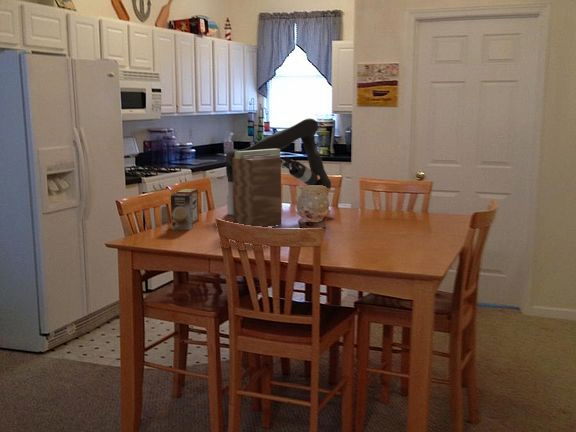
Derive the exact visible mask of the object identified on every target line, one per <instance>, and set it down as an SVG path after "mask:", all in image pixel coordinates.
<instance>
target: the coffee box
mask: <svg viewBox="0 0 576 432" xmlns="http://www.w3.org/2000/svg"><path fill="white" fill-rule="evenodd" d="M170 219H171V220H170V221H171V230H174V231H179V230H180V231H191V230H192V229H193V228H194V223H193V198H192V194H179V193H177V192H176V193H175V192H174V193H172V194H171V195H170Z"/></svg>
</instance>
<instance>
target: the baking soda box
mask: <svg viewBox="0 0 576 432" xmlns="http://www.w3.org/2000/svg"><path fill="white" fill-rule="evenodd" d="M176 193H179V194H192V198H193V224H195V223H197V222H199V221H200V218H199V189H198V188H197V189H195V188H183V189H181V190H178V191H176Z"/></svg>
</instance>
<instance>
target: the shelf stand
mask: <svg viewBox="0 0 576 432" xmlns="http://www.w3.org/2000/svg"><path fill="white" fill-rule="evenodd" d="M281 159H282V158H281V154H280V155H270V154H258V155H246V156H243V159H238V158H232V166H233V210H234V215H233V224H234V223H239V224H244V225H251V226H262V227H268V226H276V225H281V226H282V167H281Z"/></svg>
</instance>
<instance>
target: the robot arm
mask: <svg viewBox="0 0 576 432" xmlns="http://www.w3.org/2000/svg"><path fill="white" fill-rule="evenodd" d="M318 130H319V123H318V122H317V120H316V119H314V118H304V119H303V120H301V121H300V122H298V123H296V124H294V125H292V126H290V127H288V128H285V129H282V130H280V131H278V132H277V131H276V132H275V133H272V134H269V135H268V136H265V137H262V139H260V140H259V141H257V142H256V143H255V144H253V145H252V146H249V147H246V148H243V149H230V150H229V151H228V152H227V154H226V157H225V170H226V177H227V178H226V179H227V198H226V203H227V214H228V215H229V216H234V210H233V166H232V158H235V152H237V151H250V150H263V149H280V151H281V150H283V149H285V148H286V147H288V146H290V145H291V144H292V143H294V142H295V141H297V140H299V139H301V143H302V144H303V146H304V151H305V153H306V156H307V161H308V166H309V167H308V166H306V165H305V164H303V163H301V162H300V161H297V160H293V159H291V158H289V157H288V156H284V158H283V159H282V158H281V169H282V168H283V169H287V170H288V173H289V174H290V175H291V176H292V177H294V178H295V179H296V180H298V181H300V182H302V183H304V184H305V185H307V186H308V185H323V186H326V187H327V188H329V190H330V189H331V187H332V182H331V179H330V178H329V176H328V175H327V173H326V172H327V171H326V170H325V167H324V164H323V159H322V156H321V154H320V153H319V150H318V148H317V146H316V140H315V135H316V133H317V132H318ZM318 177H319V178H318Z"/></svg>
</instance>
